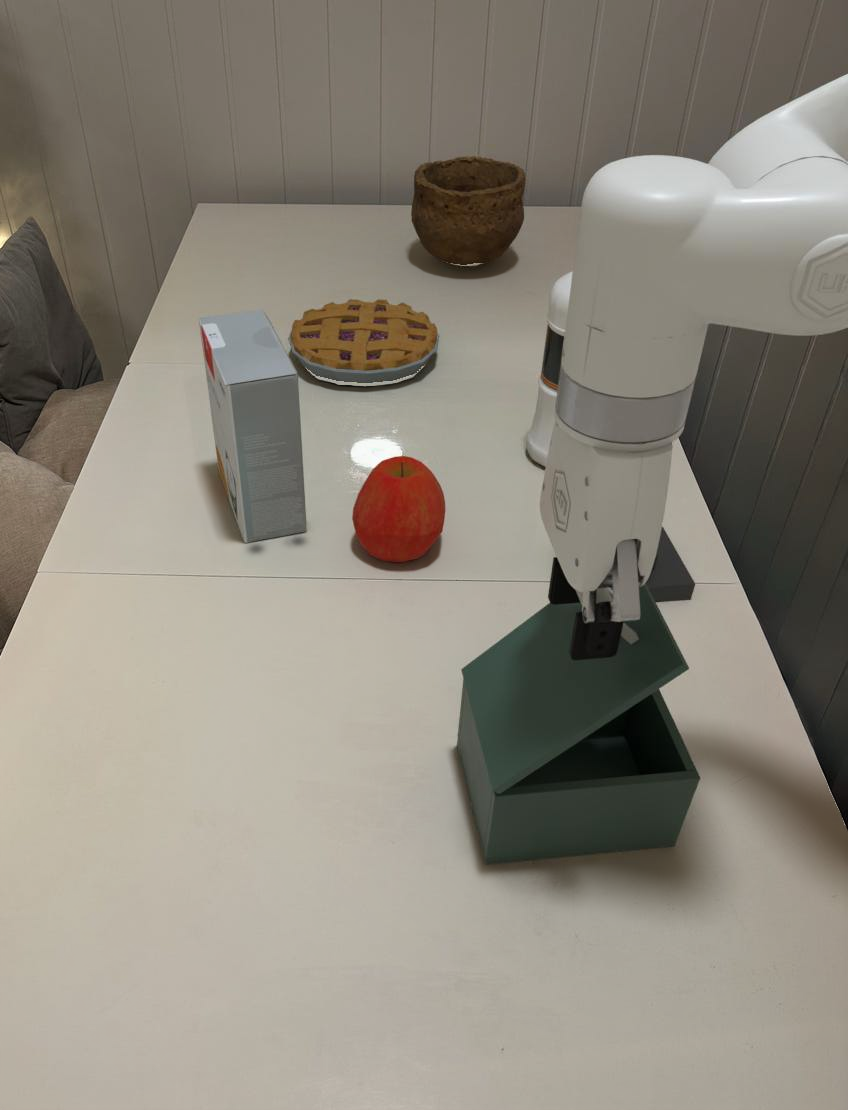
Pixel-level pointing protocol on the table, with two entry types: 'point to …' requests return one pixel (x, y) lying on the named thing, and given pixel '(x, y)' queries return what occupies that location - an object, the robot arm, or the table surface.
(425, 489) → the apple
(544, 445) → the vodka
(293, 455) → the hard drive box
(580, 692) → the box lid
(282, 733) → the table surface
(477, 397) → the table surface
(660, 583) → the control block
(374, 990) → the table surface
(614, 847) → the hinged box
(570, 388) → the robot arm
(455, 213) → the bowl
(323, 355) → the pie
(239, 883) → the table surface
